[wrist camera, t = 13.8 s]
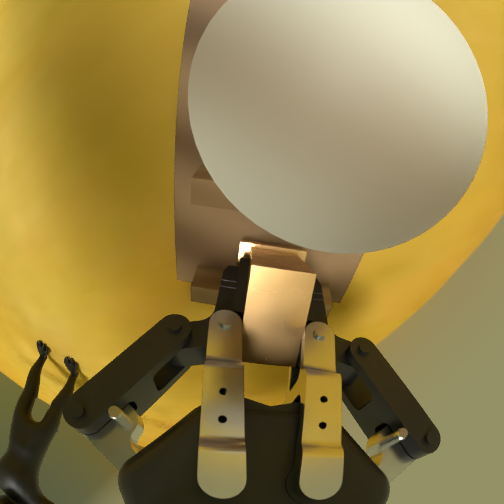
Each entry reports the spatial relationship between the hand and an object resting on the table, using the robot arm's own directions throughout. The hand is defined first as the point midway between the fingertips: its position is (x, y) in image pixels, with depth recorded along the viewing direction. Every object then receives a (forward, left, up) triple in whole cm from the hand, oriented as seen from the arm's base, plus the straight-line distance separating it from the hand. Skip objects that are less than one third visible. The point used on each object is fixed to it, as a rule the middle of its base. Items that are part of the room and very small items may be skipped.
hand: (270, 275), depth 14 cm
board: (-5, 0, -4) cm, 6 cm away
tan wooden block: (+2, 0, -1) cm, 2 cm away
